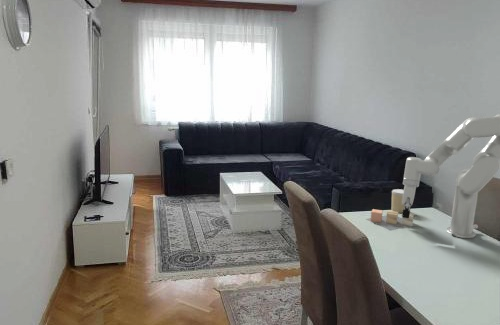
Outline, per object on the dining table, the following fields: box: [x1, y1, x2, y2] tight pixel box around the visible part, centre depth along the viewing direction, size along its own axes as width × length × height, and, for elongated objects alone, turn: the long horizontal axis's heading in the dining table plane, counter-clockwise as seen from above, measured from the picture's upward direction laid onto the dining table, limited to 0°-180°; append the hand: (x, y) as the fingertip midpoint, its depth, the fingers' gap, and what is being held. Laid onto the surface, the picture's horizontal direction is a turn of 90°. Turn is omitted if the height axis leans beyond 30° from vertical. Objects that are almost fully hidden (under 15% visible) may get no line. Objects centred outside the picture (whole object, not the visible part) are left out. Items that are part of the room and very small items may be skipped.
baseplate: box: [365, 215, 418, 231], centre depth 203 cm, size 19×17×1 cm
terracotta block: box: [370, 208, 384, 223], centre depth 204 cm, size 5×5×5 cm
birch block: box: [401, 212, 415, 227], centre depth 200 cm, size 5×5×5 cm
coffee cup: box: [390, 188, 404, 214], centre depth 221 cm, size 9×9×12 cm
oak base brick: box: [386, 210, 399, 224], centre depth 202 cm, size 5×5×5 cm
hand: (406, 214), depth 200 cm, fingers open, 9 cm apart
